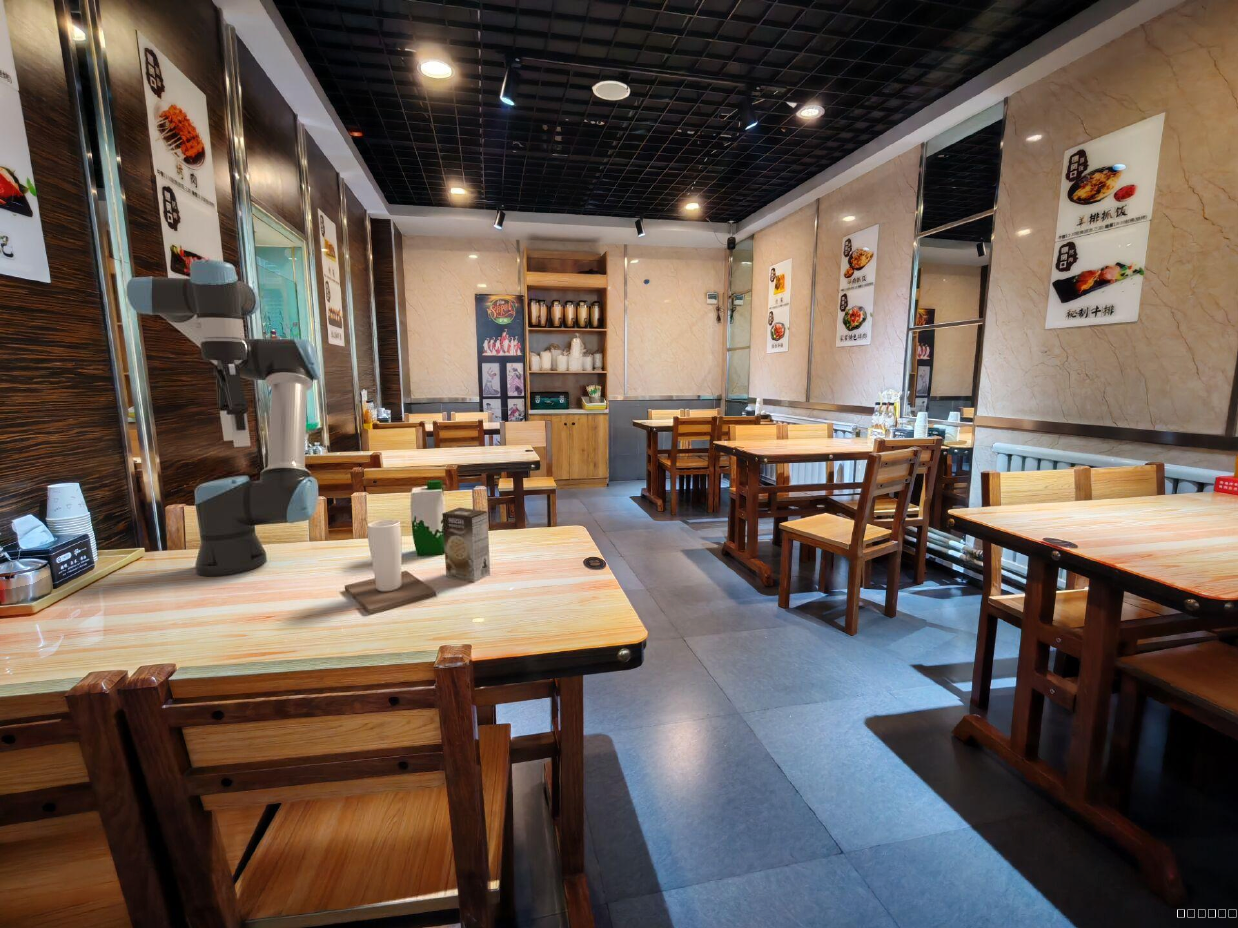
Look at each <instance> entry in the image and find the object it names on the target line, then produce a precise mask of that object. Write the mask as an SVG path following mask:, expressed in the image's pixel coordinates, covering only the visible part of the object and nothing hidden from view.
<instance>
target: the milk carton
mask: <svg viewBox="0 0 1238 928" xmlns="http://www.w3.org/2000/svg"><path fill="white" fill-rule="evenodd" d="M444 493H445V492H444V487H443V480H442V479H429V480H426V486H425V485H424V486H420V487H412V489H411V493H410V518H411V520H410V521H411V531H412V532H411V534H412V540H413V543H414V549H415V552H416V556H417V558H419V556H421V557H429V556H438V555H439V554H440V555H445V548H444V532H443V515H442V513H445V512H447V511H446V503H445V496H444Z"/></svg>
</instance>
